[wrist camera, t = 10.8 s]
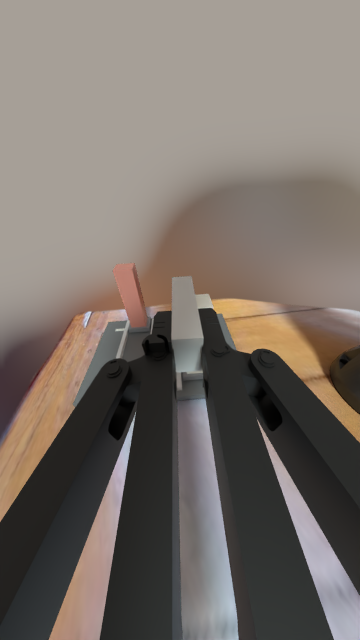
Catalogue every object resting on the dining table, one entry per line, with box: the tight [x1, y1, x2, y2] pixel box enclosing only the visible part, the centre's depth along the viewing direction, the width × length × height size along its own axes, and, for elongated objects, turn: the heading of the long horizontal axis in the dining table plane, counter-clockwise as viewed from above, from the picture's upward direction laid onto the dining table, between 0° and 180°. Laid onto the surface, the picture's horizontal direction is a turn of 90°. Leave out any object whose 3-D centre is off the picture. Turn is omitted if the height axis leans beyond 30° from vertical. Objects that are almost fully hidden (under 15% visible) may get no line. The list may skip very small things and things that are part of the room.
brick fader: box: [113, 263, 151, 333], centre depth 36 cm, size 5×4×15 cm
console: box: [73, 314, 237, 407], centre depth 35 cm, size 30×21×2 cm
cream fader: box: [183, 294, 213, 381], centre depth 25 cm, size 5×4×15 cm
